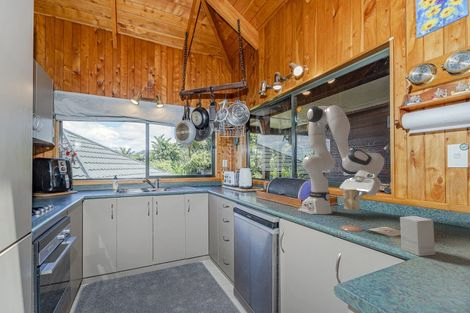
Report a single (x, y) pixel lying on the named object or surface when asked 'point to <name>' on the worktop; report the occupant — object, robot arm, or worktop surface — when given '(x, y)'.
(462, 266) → the worktop surface
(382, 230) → the card
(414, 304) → the worktop surface
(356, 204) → the maple block
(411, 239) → the supplement box
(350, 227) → the coaster
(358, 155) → the robot arm
